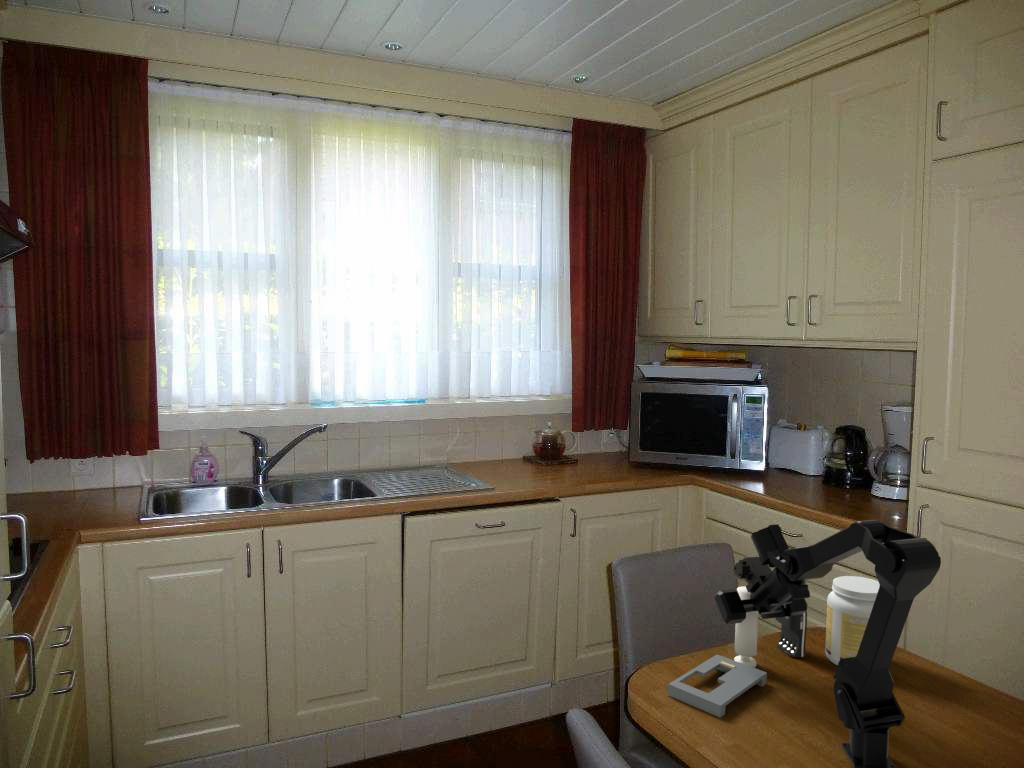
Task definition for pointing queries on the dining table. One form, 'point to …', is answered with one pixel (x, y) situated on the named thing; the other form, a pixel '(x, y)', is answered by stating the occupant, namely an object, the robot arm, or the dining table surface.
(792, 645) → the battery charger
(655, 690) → the dining table surface
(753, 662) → the footed peg
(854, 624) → the supplement tub
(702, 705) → the keyhole plate
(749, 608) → the robot arm
